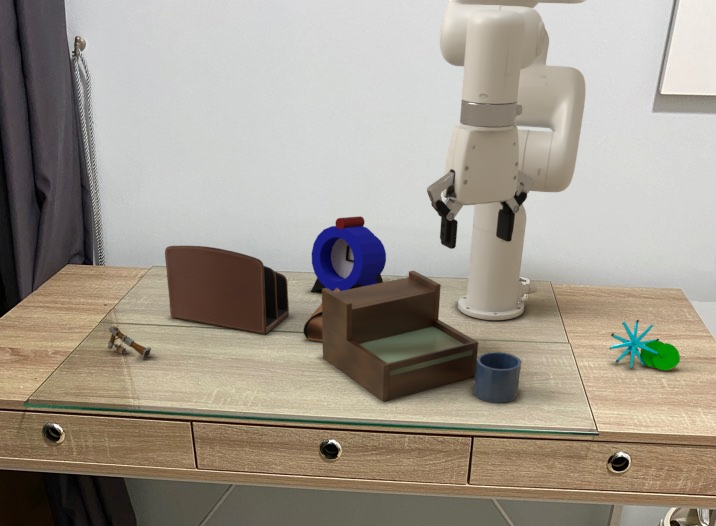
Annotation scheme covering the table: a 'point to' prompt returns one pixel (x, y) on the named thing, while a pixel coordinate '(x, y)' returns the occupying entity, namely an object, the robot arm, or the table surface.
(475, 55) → the robot arm
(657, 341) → the stick construction toy
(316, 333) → the sunglasses case
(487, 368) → the cup
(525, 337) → the table surface
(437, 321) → the brown wooden drawer box
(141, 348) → the brown branched rod
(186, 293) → the letter holder
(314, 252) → the alarm clock
